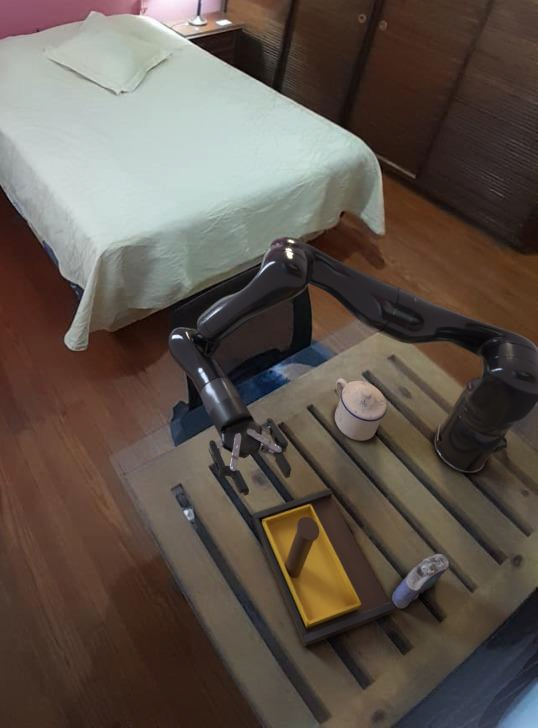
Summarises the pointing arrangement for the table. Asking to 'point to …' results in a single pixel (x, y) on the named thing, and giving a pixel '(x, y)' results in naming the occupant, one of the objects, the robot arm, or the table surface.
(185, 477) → the table surface
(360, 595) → the track
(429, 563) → the flask
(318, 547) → the tray
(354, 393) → the teacup with lid
